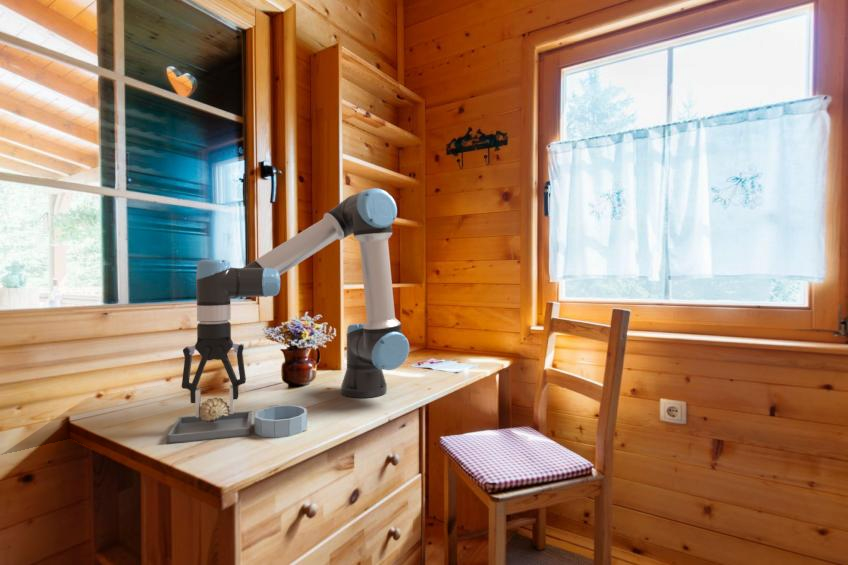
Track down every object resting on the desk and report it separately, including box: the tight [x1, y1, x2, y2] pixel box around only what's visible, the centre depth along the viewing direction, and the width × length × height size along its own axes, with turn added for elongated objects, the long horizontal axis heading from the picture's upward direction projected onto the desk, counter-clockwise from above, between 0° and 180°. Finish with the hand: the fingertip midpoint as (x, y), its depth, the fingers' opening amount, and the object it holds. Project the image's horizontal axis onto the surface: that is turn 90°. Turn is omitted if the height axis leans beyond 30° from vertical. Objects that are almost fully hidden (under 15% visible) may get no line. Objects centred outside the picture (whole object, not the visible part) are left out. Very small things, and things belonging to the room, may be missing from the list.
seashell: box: [199, 397, 230, 422], centre depth 108 cm, size 8×6×10 cm
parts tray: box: [166, 410, 253, 445], centre depth 108 cm, size 17×14×2 cm
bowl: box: [254, 404, 308, 438], centre depth 109 cm, size 12×12×4 cm
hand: (215, 413), depth 108 cm, fingers closed on seashell, 7 cm apart
